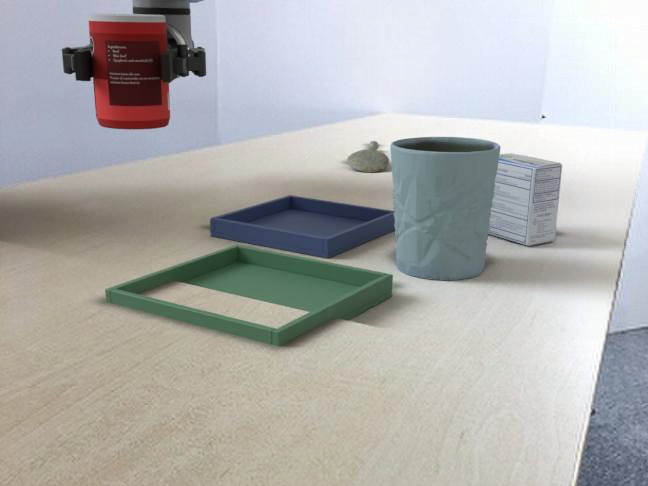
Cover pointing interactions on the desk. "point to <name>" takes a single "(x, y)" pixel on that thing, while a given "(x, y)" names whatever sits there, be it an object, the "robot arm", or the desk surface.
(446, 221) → the embossed blue cup
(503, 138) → the desk surface
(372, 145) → the knobbed grey dome
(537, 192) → the medicine box
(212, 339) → the desk surface
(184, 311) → the green tray
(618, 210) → the desk surface
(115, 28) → the canned food
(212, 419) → the desk surface
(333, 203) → the blue tray
